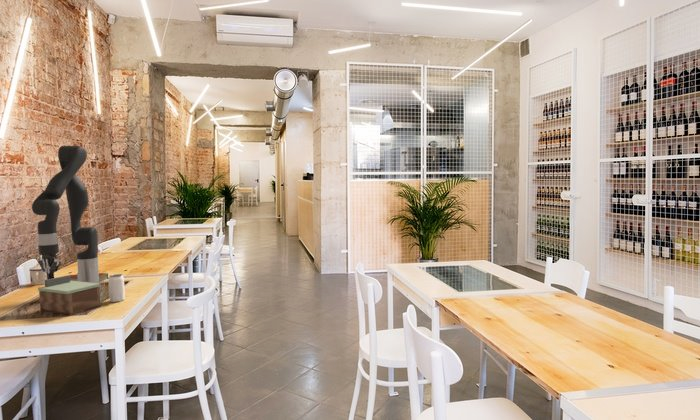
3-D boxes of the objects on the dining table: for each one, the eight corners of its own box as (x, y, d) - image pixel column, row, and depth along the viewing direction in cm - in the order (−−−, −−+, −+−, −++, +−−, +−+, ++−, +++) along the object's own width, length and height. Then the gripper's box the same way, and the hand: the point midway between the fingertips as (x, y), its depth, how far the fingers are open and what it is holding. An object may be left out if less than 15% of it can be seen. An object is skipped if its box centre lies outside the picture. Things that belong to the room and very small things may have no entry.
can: (118, 302, 207) (116, 277, 206) (106, 302, 208) (105, 276, 207) (128, 298, 213) (126, 274, 212) (116, 298, 214) (115, 273, 213)
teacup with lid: (32, 282, 254) (31, 262, 254) (51, 281, 258) (49, 261, 257) (27, 287, 244) (25, 266, 243) (46, 285, 247) (45, 264, 246)
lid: (38, 290, 195) (37, 281, 194) (71, 283, 208) (70, 274, 208) (67, 294, 187) (67, 284, 186) (100, 286, 200) (99, 277, 200)
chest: (40, 310, 196) (39, 290, 195) (71, 302, 208) (70, 283, 208) (70, 315, 188) (68, 294, 187) (100, 306, 200) (99, 287, 200)
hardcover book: (69, 281, 258) (68, 274, 258) (108, 279, 262) (107, 272, 262) (59, 286, 246) (59, 278, 246) (100, 283, 250) (100, 276, 250)
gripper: (65, 242, 202) (68, 280, 203) (47, 241, 207) (50, 278, 208) (48, 245, 195) (51, 284, 196) (30, 244, 201) (33, 282, 202)
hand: (50, 281), depth 202 cm, fingers closed
